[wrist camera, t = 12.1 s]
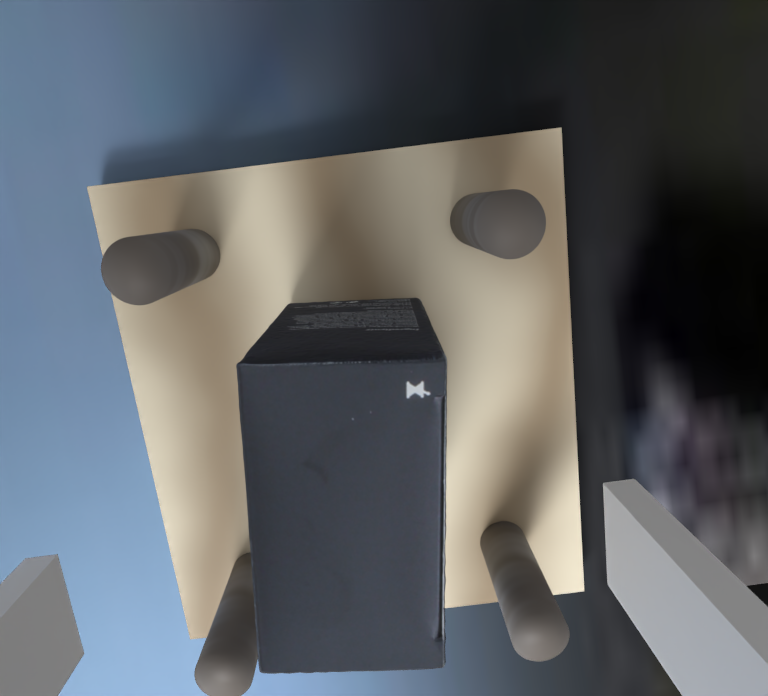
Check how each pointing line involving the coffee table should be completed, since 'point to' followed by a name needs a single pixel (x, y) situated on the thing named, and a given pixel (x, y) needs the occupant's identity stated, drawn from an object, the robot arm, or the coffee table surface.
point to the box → (347, 487)
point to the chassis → (359, 282)
